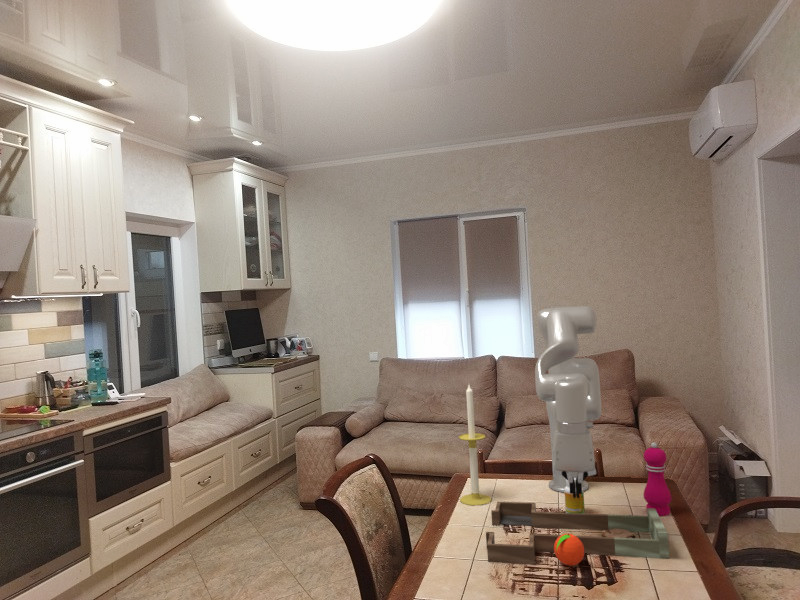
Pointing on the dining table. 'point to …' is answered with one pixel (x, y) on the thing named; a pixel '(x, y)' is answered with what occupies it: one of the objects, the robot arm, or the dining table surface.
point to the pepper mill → (656, 481)
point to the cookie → (618, 533)
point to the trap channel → (592, 545)
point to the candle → (473, 456)
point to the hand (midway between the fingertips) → (576, 496)
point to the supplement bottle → (573, 501)
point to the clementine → (569, 549)
